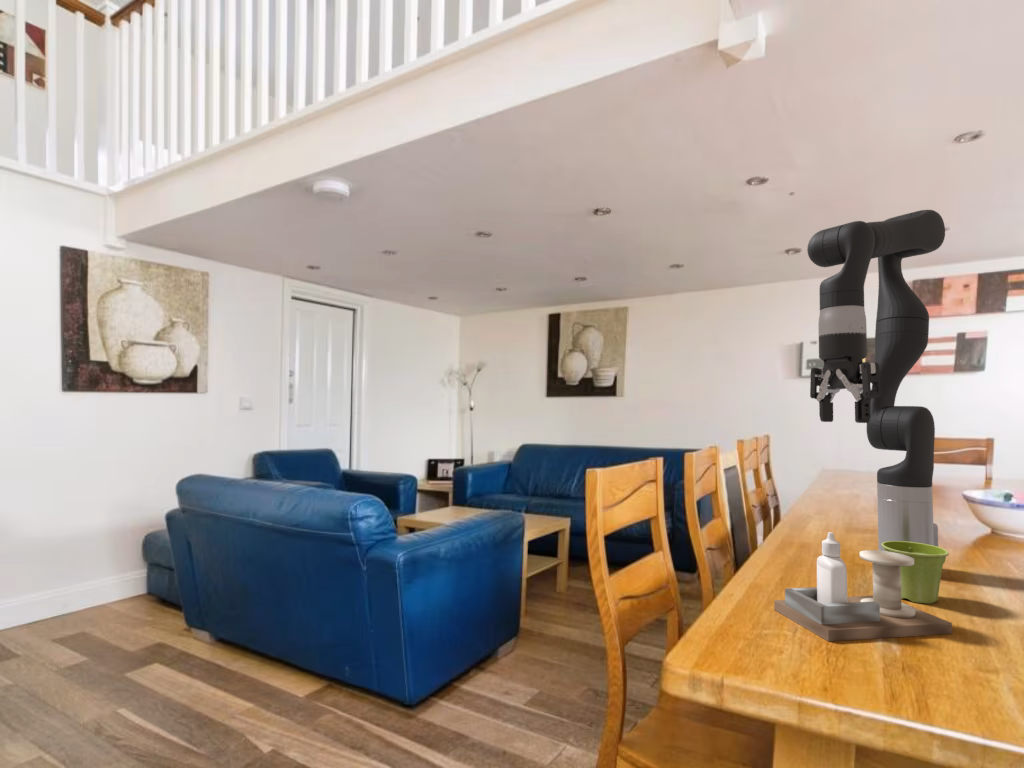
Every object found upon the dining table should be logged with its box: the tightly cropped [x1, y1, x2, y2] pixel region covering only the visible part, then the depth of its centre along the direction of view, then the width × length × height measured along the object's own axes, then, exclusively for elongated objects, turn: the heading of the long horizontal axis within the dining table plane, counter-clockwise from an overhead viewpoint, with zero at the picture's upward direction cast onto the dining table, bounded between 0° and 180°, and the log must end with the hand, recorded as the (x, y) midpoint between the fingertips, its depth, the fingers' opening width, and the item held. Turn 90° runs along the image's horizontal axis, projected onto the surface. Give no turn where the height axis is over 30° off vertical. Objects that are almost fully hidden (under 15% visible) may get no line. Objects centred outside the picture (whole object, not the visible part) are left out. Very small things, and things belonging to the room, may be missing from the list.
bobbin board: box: [773, 549, 953, 642], centre depth 84 cm, size 20×12×10 cm, turn 99°
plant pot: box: [881, 541, 950, 605], centre depth 94 cm, size 9×9×9 cm
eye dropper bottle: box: [816, 531, 848, 604], centre depth 83 cm, size 4×6×12 cm
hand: (843, 422), depth 99 cm, fingers open, 8 cm apart
